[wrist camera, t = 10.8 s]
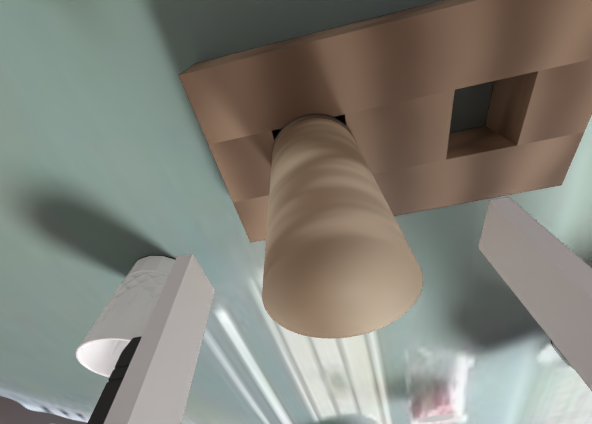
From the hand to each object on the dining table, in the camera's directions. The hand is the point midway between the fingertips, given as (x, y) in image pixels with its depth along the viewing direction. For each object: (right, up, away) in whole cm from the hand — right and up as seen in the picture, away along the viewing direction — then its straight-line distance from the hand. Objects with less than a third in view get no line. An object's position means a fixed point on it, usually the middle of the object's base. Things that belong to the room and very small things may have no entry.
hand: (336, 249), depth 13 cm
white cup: (-18, -6, +20) cm, 27 cm away
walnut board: (+5, +9, +10) cm, 14 cm away
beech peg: (-1, +8, +10) cm, 13 cm away
